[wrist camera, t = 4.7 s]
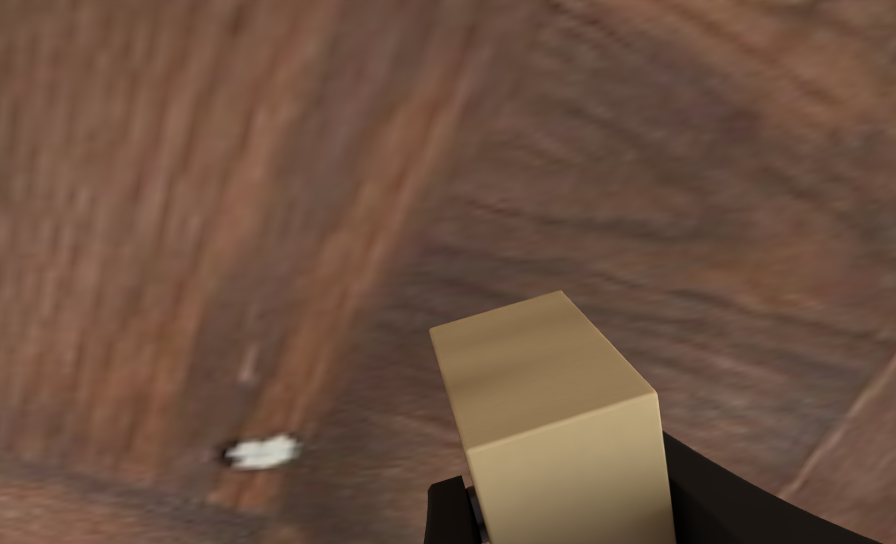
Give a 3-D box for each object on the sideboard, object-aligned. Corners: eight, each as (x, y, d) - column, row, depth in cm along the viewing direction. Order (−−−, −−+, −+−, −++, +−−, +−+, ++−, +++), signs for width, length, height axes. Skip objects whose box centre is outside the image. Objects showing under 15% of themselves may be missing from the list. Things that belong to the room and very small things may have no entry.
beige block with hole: (615, 539, 14) (709, 707, 11) (492, 580, 14) (542, 765, 10) (569, 285, 12) (672, 387, 8) (418, 330, 12) (450, 456, 8)
